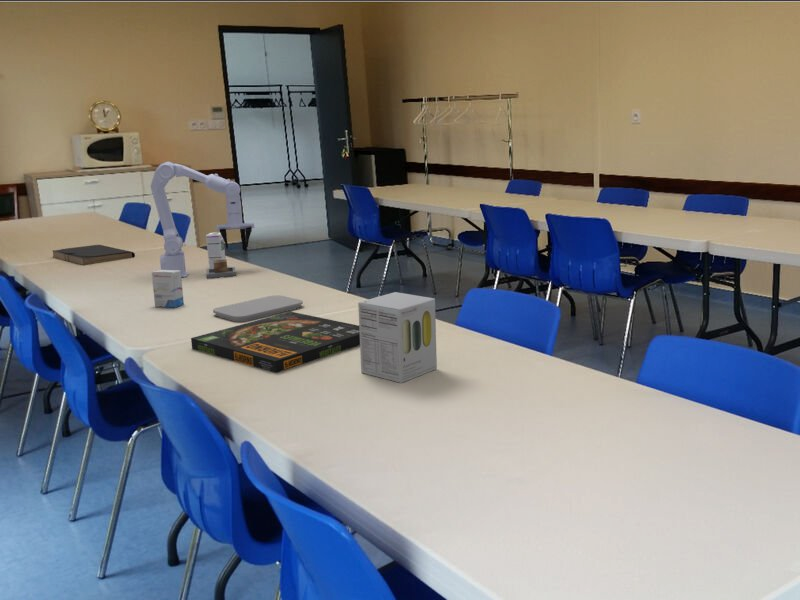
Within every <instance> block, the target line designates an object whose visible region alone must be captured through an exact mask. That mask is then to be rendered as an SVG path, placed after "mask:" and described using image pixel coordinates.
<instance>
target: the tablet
mask: <svg viewBox="0 0 800 600" xmlns="http://www.w3.org/2000/svg"><path fill="white" fill-rule="evenodd" d="M301 305H303V300H301V299H299V298H293V297H289V296H285V295H280V294H279V295H274V294H273V295H269V296H268V295H267V296H265V297H264V296H263V297H259V298H255V299H250V300H246V301H242V302H236V303H233V304H228V305H224V306H218V307H215V308H213V309H212V313H214V314H215V316H216V317H217V316H219V317H218V318H221V317H222V318H221V319H224V318H226V319H225V320H228V319H229V320H228V321H231V320H232V322H235V321H237V322H236V323H240V322H241V323H242V321H244V322H247V321H248V320H249V321H252V319H253V320H256V318H257V319H261V318H264V316H265V317H268V316H267V315H269V316H272V315H271V314H273V315H276V314H275V313H278V314H280V313H279V312H282V313H285V312H284V311H286V312H288V311H287V310H290V311H293V310H292V309H294V310H296V309H295V308H298V309H300V308H299V307H301V308H302V306H301ZM260 317H261V318H260Z"/></svg>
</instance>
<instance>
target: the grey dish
mask: <svg viewBox="0 0 800 600" xmlns="http://www.w3.org/2000/svg"><path fill="white" fill-rule="evenodd" d="M227 270H228V272H222V273H214V269H209V268H206V279H207V278H211V279H220V278H219V277H224V278H234V277H233V276H236V277H237V272H236V267H235V266H231V267H229V266H227Z"/></svg>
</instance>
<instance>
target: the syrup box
mask: <svg viewBox="0 0 800 600" xmlns="http://www.w3.org/2000/svg"><path fill="white" fill-rule="evenodd" d="M205 237H206V238H205V240H206V248H207V256H208V257H207V258H208V267H209V268H208V269H214V262H213V260H227V259H226V252H225V251H226V249H225V248H226V247H225V242H224V239H223V237H222V235H221V234H220V231H219V232H217V231H215V232H214V231H213V232H209V233H208V234H206V235H205Z"/></svg>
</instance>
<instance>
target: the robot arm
mask: <svg viewBox="0 0 800 600" xmlns="http://www.w3.org/2000/svg"><path fill="white" fill-rule="evenodd" d="M174 177H175V178H180V177H186V178H189V179H191V180H195V181H196V182H200V183H202V184H204V185H205V187H206V189H210V190H212V191H214V192H216V193H219V194H224V195H225V197H226V198H225V200H226V201H225V204H226V205H225V209H226V218H227V219H226V220H227V221H226V222H227V223H226V224H217V225H216V232H217V231H219V232H220V234H221V235H222V237H223V239H224V246H225V248H226V249H227V250H228V249H229V245H228V238H227V237H228V235H227V230H229V231H230V230H244V233H245V247H246V248H248V247H249V241H250V236H251V233H252V231H253V229H255V223H254V222H245V223H244V222H243V214H242V213H243V212H242V201H241V195H240V192H241V187H240V184H238V183H237V182H235V181H234V180H233V181H232V180H231V179H230V178H227V179H226V178H223V177H221V176H219V174H218V173H214V174H213V173H211V174H208V175H206V174H205V173H202V172H200V171H197V170H195V169H192V168H190V167H188V166H187V165H186V166H185V165H183V164H179V163H174V162H172V161H165V162H163V163H160V164H159V165H158V167H156V169H155V170H154V173H153V178H152V180H151V184H150V190H151V194H152V196H153V201H154V203H155V207H156V210H157V211H156V212H157V213H158V217H159V221H160V224H161V228H162V233H163V239H164V244H163V248H164V250H165V251H164V254H160V255H159V263H160V270H180V271H181V278H187V277H188V272H187V271H186V269H187V268H186V259H185V251H184V250H183V249H182V248H183V245H184V241H183V240H184V239H183V238H182V237H181V236H180V235H179V232H178V230H177V228H176V225H175V221H174V218H173V213H172V211H171V207H170V204H169V203H170V202H169V199H168V196H167V193H166V186H167V185H168V184H169V181H170V180H172V179H173V178H174ZM226 249H225V250H226Z"/></svg>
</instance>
